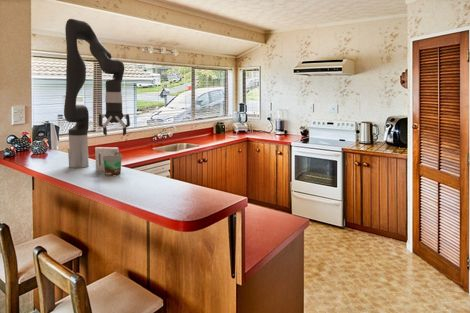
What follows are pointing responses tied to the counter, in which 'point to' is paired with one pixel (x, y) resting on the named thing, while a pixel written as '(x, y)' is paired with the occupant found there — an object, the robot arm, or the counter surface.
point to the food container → (112, 164)
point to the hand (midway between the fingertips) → (114, 135)
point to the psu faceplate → (99, 156)
